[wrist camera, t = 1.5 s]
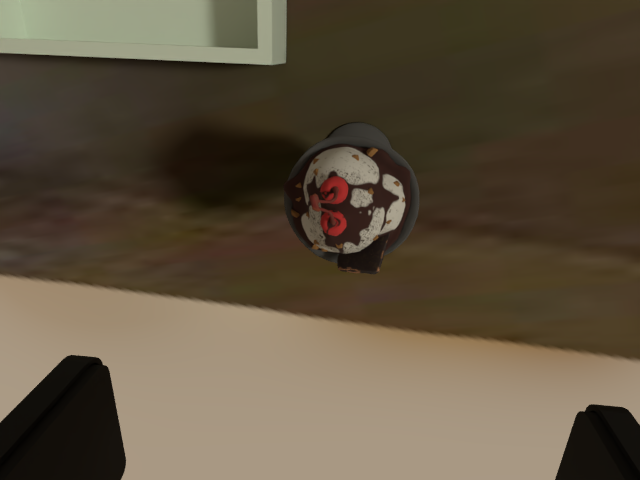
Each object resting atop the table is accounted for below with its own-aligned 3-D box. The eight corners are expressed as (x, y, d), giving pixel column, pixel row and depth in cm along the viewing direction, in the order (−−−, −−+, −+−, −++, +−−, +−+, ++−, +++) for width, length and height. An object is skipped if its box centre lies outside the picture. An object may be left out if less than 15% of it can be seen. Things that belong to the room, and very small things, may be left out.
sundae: (326, 94, 30) (288, 132, 16) (420, 130, 30) (461, 197, 17) (296, 184, 33) (241, 282, 19) (382, 216, 33) (390, 335, 19)
